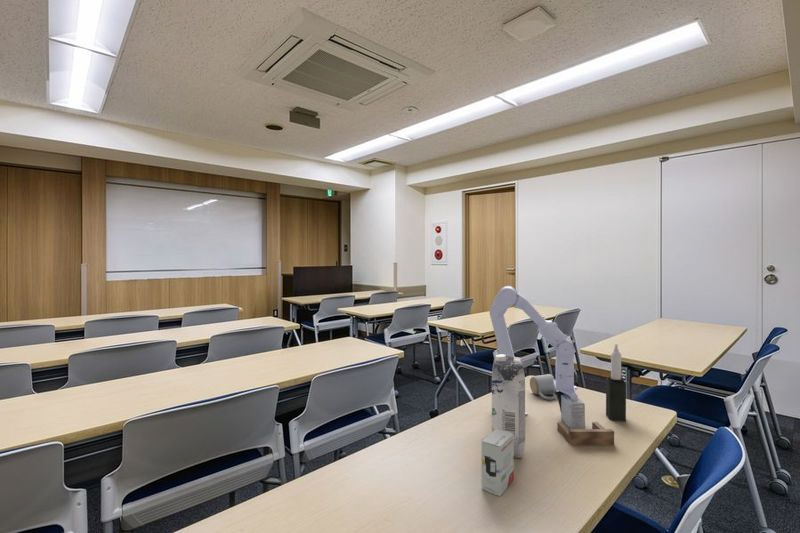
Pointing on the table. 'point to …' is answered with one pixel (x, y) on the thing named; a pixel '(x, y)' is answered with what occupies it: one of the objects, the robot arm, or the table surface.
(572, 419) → the medicine box
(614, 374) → the candle
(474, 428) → the table surface
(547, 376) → the ceramic mug
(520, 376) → the juice carton
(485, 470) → the ink box
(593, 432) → the holder
